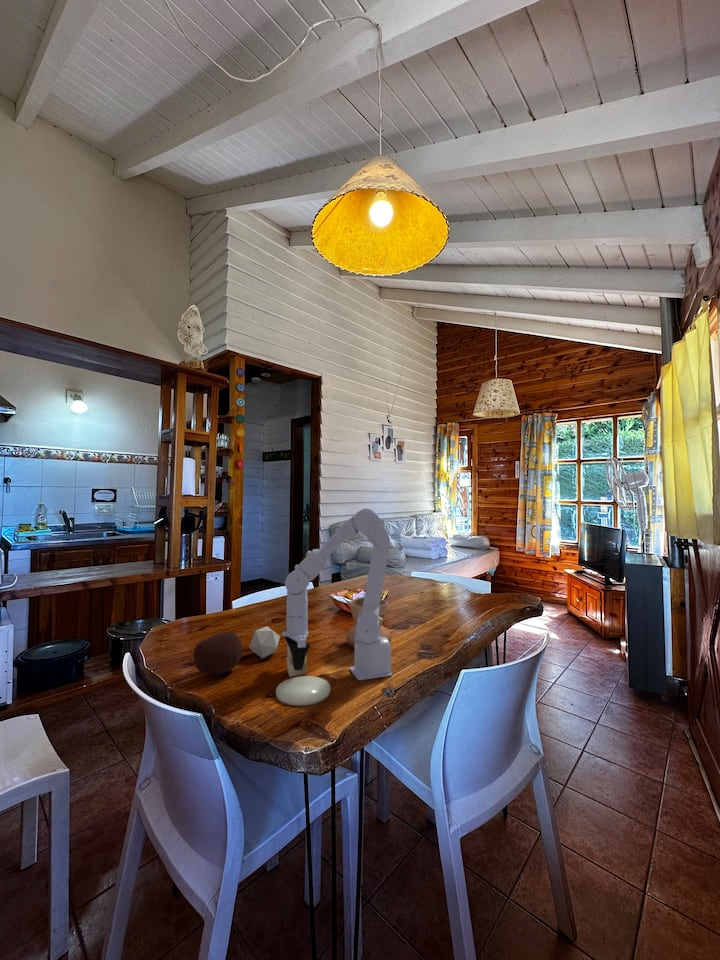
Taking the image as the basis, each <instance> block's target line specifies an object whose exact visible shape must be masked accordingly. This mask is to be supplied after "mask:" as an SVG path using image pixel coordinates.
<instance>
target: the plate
mask: <svg viewBox="0 0 720 960" xmlns="http://www.w3.org/2000/svg"><path fill="white" fill-rule="evenodd" d="M330 694H331V684H330V683H329V682H328V681H327V680H326V679H324V678H321V677H317V676H314V675H313V676H311V675H309V676H308V675H307V676H306V675H305V676H304V675H300V676H294V677H291V678H287V679H285V680H284V681H282V682H281V683H279V684H278V686H277V687H276V688H275V697H276V699H277V700H278V701H279V702H280V703H283V704H285V705H288V706H295V707H296V706H297V707H305V706H311V705H315V704H319V703H321V702H323V701H324V700H326V699H327V698H328V697H329V696H330Z"/></svg>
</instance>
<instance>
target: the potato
mask: <svg viewBox="0 0 720 960" xmlns="http://www.w3.org/2000/svg"><path fill="white" fill-rule="evenodd" d="M242 654H243V643H242V641H241V638H240V637H239V636H238V634H236V633H235V632H234V631H222V632H219V633H217V634H214V635H210V636H209V637H206V638H204V639H203V640H201V641H199V642H198V643H197V644H196V646H195V647H194V650H193V655H192V656H193V663H194V666H195V667H196V669H197V670H198V671H199V672H200V673H202V674H207V675H209V676H210V675H211V676H218V675H223V674H225V673H227V672H230V671H231V670H232V669H234V668H235V667H236V666H237V665H238V664H239V663H240V660H241V658H242Z"/></svg>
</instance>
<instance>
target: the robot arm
mask: <svg viewBox="0 0 720 960" xmlns="http://www.w3.org/2000/svg"><path fill="white" fill-rule="evenodd" d="M359 532H360V533H361V534H362V535H364V536H366V538H367V540H368V541H369V542H370V543H371V545H372V551H371V557H370V562H369V569H368V575H367V581H366V586H365V592H364V596H363V597H364V602H363V608H362V611H361V613H360V614H359V615H358V618H357V625H356V629H355V632H356V636H355V648H354V665H353V666H350V667H349V670H350V672H351V673H352V674H353V676H354V677H355V678H356V679H357V680H358V681H367V680H372V679H379V678H385V677H390V676H393V673H392V664H391V663H392V654H391V653H392V649H391V642H390V643H389V641H388V639H387V638H386V637H381V636H380V635H379V632H380V630H379V617H378V616H379V607H380V601H381V600H382V593H383V589H384V588H383V587H384V582H385V575H386V570H387V564H388V558H389V553H390V547H391V539H390V536H389V535H388V532H387V529H386V528H385V525H384V523H383V521H382V519H381V518H380V516H379V515H378V514H377V513H376V512H375V511H374V510H372V509H371V508H362V509H360V510H359V511H358V512H356V514H354V515H353V516H351V518H349V519H347V520H346V521H345V522H344V523H342V524H341V525H340V527H339V528H337V530H336V531H335V532H334V533H333V535H331V536H330V538H329V539H328V540H327V541H326V542H325V543H324V544H323V545H322V546H321V548H313V549H312V550H308V551H307V552H306V554H305V558H304V559H302V561H301V562H300V563H299V564H295V566H294V570H293V571H291V572H290V573H288V575H287V576H286V578H285V581H284V587H285V588H286V589H285V590H287V591H286V592H287V593H286V629H285V630H283V631H282V632H281V636H282V637H284V639H285V641H286V645H287V644H288V646H289V648H290V650H291V653H292V658H293V666H294V670H302V669H303V665H304V661H305V656H306V653H308V651H309V649H310V647H311V643H310V642H309V641H308V642H307V637H308V635H309V630H308V626H309V625H308V624H309V622H308V620H309V619H308V618H309V617H308V615H309V613H308V611H309V610H308V609H309V608H308V605H309V599H308V586H309V585H310V582H311V581H312V582H313V581H314V580H315V578H317V576H318V575H319V574H320V573H322V571H323V570H324V569H325V568H326V567H327V566H328V565H329V557H330V555H331V554H332V553H333V552H334V551H335V550H336V549H337V548H338V547H340V545H341V544H342V543H344V541H345V540H347V538H349V537H352V536H356V535H358V533H359Z"/></svg>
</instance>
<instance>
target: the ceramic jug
mask: <svg viewBox="0 0 720 960" xmlns="http://www.w3.org/2000/svg"><path fill="white" fill-rule="evenodd" d="M364 597H365V596H363V597H362V596H361V597H356V598H352V599H351V600H350V601H349V607H350V611H351V612H350V613H351V615H352V619H353V621H354V625H353V626H352V627H351V628H350V629H348V630H347V632H346V635H345V639H346V642H347V643H348V645H349V646H351V648H354V649H355V636H356V632H355V629H356V625H357V618H358V615H359V614H360V613H361V611H362V608H363V602H364ZM387 609H388V601H387V600H385V599H381V601H380V607H379V616H378V617H379V630H380V632H379V635H380V636H381V637H386V638H387V639H388V641H389V643H390V644H391V640H392V634H391V631H389V629H387V628H386V627H385V626H383V625H382V623H384V619H385V616H386V613H387Z"/></svg>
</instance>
